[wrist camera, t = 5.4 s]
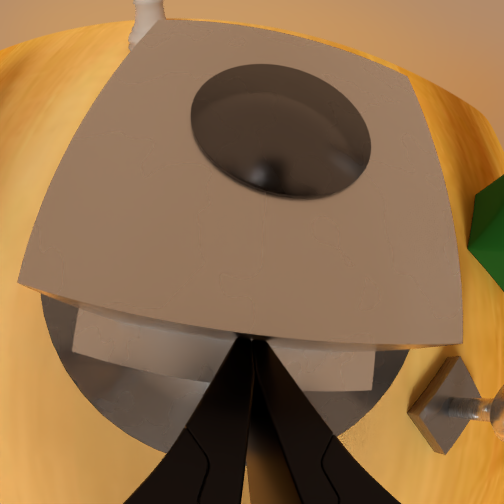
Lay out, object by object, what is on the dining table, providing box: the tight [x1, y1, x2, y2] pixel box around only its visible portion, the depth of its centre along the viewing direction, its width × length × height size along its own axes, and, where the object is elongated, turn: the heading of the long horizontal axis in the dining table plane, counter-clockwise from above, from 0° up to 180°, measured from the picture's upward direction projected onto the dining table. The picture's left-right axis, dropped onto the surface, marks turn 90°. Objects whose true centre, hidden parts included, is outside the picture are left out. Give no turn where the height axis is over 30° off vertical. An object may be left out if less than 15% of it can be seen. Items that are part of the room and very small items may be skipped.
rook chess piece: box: [128, 0, 166, 51], centre depth 17 cm, size 4×4×8 cm
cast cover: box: [17, 20, 463, 391], centre depth 11 cm, size 15×15×9 cm
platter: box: [41, 293, 409, 466], centre depth 16 cm, size 24×24×1 cm
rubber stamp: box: [407, 356, 504, 455], centre depth 10 cm, size 5×5×10 cm
